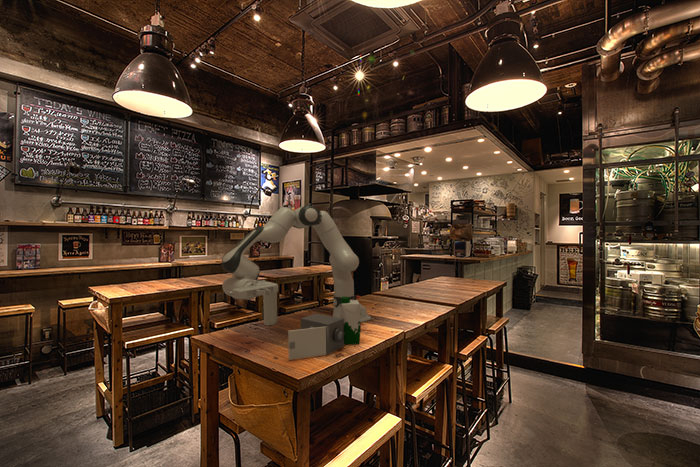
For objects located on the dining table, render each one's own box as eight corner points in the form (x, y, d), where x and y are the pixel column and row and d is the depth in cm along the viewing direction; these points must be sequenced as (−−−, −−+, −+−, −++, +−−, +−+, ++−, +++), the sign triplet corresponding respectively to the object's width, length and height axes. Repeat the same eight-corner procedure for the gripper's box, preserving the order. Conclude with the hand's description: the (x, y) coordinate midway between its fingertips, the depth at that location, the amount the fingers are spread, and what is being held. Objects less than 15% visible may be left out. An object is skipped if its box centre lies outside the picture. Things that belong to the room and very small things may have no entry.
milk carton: (340, 339, 144) (339, 295, 144) (359, 338, 145) (359, 295, 145) (341, 345, 135) (340, 299, 135) (361, 345, 136) (361, 299, 136)
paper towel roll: (263, 326, 166) (263, 286, 165) (263, 323, 171) (263, 284, 171) (277, 325, 167) (277, 285, 167) (277, 321, 173) (276, 283, 173)
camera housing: (300, 346, 136) (299, 318, 136) (316, 339, 144) (316, 313, 144) (331, 355, 125) (330, 325, 125) (347, 347, 133) (347, 319, 133)
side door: (289, 360, 120) (288, 331, 120) (288, 359, 121) (288, 330, 121) (329, 354, 125) (328, 326, 125) (328, 353, 126) (328, 325, 126)
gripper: (226, 285, 130) (245, 288, 122) (266, 279, 146) (286, 282, 138) (226, 300, 130) (245, 305, 122) (266, 292, 146) (286, 296, 138)
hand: (267, 292), depth 130 cm, fingers closed
